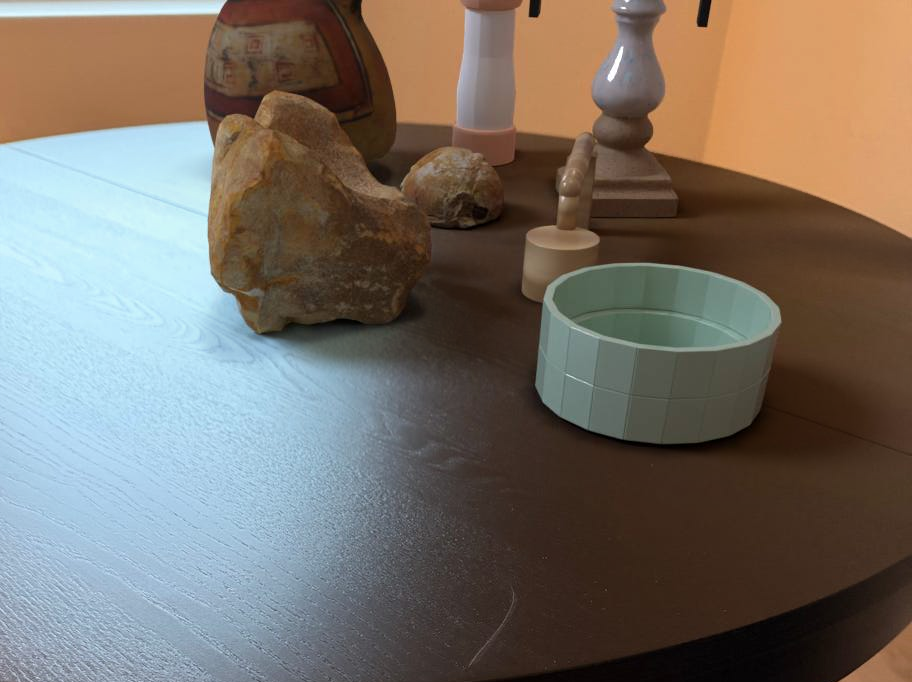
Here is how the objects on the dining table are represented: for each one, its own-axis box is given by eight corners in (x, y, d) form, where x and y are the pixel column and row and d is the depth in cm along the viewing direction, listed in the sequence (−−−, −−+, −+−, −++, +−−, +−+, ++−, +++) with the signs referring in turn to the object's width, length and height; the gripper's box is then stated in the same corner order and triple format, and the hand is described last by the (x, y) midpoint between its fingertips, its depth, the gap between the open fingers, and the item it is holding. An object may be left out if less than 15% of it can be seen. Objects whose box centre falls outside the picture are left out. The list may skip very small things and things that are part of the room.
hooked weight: (589, 314, 84) (603, 200, 78) (516, 307, 85) (525, 193, 79) (607, 230, 101) (620, 131, 95) (546, 225, 101) (555, 126, 96)
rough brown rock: (412, 384, 75) (436, 164, 66) (184, 355, 74) (176, 129, 65) (432, 280, 93) (452, 97, 84) (249, 256, 93) (250, 70, 84)
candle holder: (653, 186, 113) (693, -79, 98) (677, 217, 104) (725, -68, 89) (553, 185, 112) (578, -82, 97) (570, 217, 104) (601, -71, 89)
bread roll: (427, 268, 101) (450, 200, 95) (374, 197, 104) (393, 126, 98) (504, 250, 106) (532, 184, 99) (452, 182, 109) (475, 114, 102)
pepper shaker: (492, 147, 124) (503, -43, 112) (526, 162, 119) (541, -35, 107) (440, 153, 121) (445, -41, 109) (472, 169, 117) (481, -32, 105)
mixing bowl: (752, 368, 76) (774, 273, 72) (762, 467, 65) (789, 362, 60) (548, 347, 79) (557, 254, 74) (522, 440, 67) (531, 336, 62)
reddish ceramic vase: (210, 151, 120) (176, -178, 101) (382, 148, 123) (380, -172, 104) (213, 202, 105) (174, -173, 86) (409, 196, 108) (413, -167, 89)
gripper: (839, -328, 72) (769, 21, 86) (487, -335, 75) (472, 4, 89) (855, -339, 67) (777, 36, 80) (473, -347, 69) (460, 18, 83)
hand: (617, 20), depth 84 cm, fingers open, 13 cm apart
